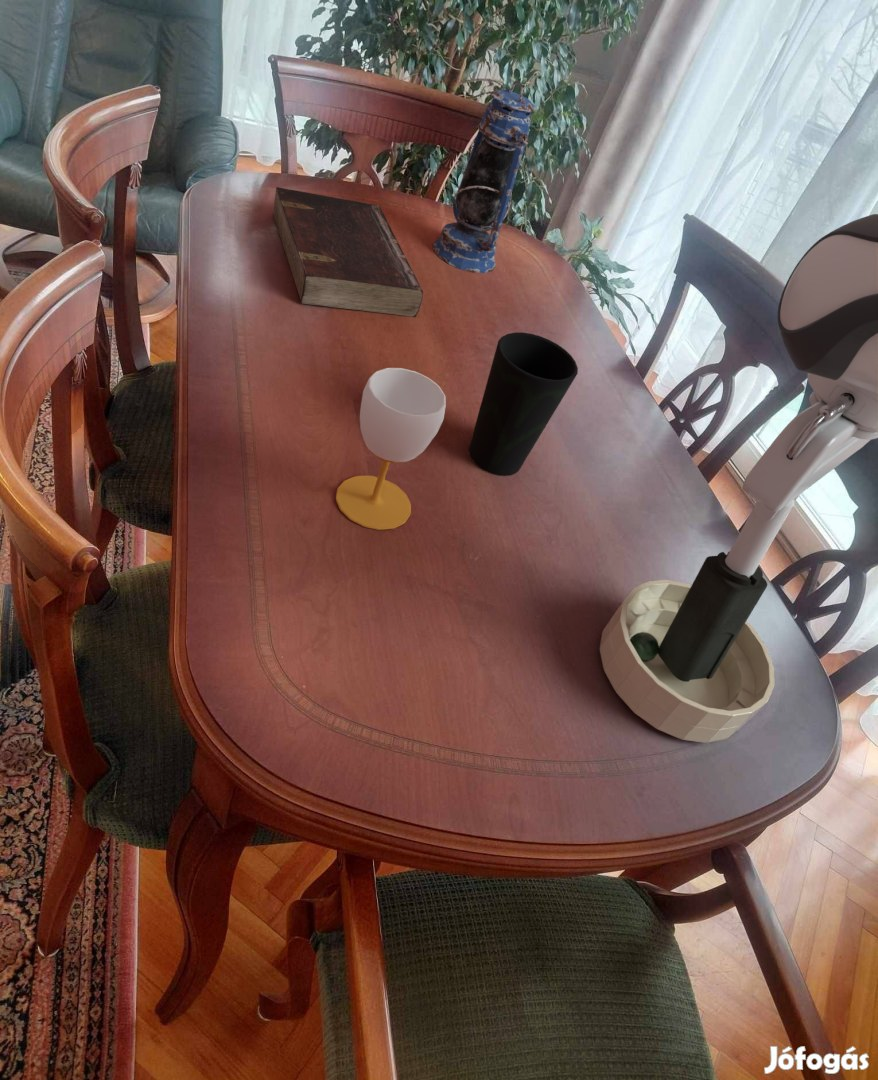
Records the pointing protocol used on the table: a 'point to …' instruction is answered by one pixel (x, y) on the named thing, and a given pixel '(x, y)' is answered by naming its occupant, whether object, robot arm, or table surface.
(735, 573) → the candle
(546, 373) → the cup
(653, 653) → the bead
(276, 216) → the hardback book
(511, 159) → the lantern
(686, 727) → the bowl
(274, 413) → the table surface
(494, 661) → the table surface
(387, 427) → the cup
